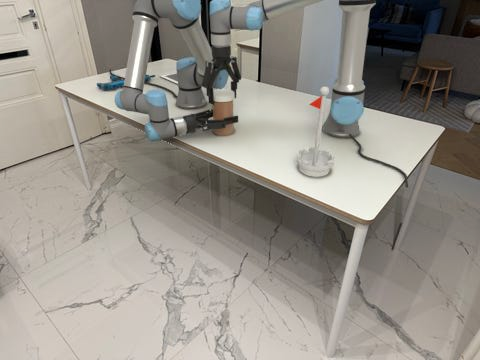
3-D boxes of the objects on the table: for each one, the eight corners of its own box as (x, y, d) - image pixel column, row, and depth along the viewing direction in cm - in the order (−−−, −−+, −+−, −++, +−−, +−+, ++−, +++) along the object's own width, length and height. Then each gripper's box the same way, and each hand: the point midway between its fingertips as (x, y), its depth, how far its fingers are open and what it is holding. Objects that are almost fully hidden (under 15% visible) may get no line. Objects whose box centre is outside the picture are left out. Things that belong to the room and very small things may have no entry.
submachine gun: (141, 68, 225) (159, 74, 208) (142, 74, 227) (160, 80, 210) (89, 78, 206) (104, 86, 190) (91, 84, 208) (106, 92, 192)
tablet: (159, 76, 219) (159, 75, 219) (186, 70, 230) (186, 70, 230) (187, 88, 199) (187, 87, 198) (214, 81, 210) (214, 80, 210)
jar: (221, 137, 145) (220, 99, 135) (209, 130, 150) (207, 93, 141) (237, 131, 149) (237, 94, 140) (225, 125, 155) (224, 89, 146)
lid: (239, 97, 142) (239, 92, 140) (222, 104, 136) (221, 98, 134) (222, 92, 148) (222, 87, 146) (205, 98, 141) (205, 92, 140)
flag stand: (319, 157, 130) (331, 78, 113) (339, 173, 119) (355, 90, 103) (289, 163, 126) (296, 83, 109) (307, 181, 115) (318, 95, 99)
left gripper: (175, 124, 149) (221, 114, 158) (194, 144, 133) (244, 132, 142) (174, 108, 145) (221, 99, 154) (193, 126, 129) (244, 115, 138)
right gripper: (238, 39, 139) (238, 92, 151) (189, 47, 126) (194, 104, 138) (250, 42, 134) (249, 96, 146) (201, 51, 121) (204, 109, 133)
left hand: (232, 115), depth 148 cm, fingers closed on jar, 9 cm apart
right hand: (222, 100), depth 142 cm, fingers open, 11 cm apart
